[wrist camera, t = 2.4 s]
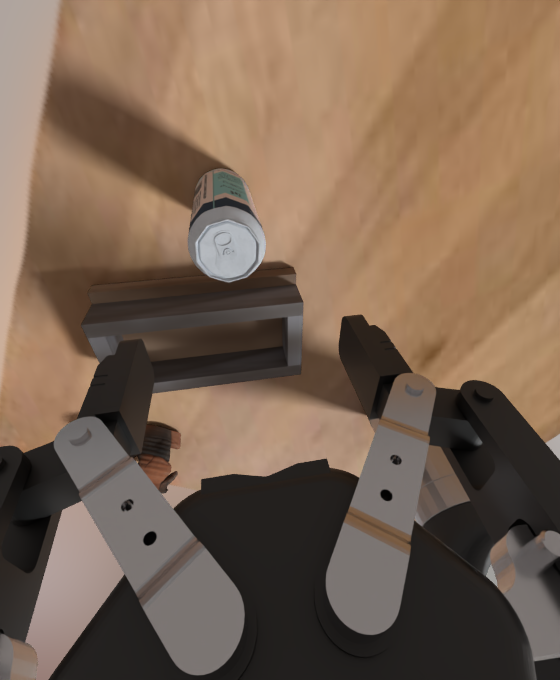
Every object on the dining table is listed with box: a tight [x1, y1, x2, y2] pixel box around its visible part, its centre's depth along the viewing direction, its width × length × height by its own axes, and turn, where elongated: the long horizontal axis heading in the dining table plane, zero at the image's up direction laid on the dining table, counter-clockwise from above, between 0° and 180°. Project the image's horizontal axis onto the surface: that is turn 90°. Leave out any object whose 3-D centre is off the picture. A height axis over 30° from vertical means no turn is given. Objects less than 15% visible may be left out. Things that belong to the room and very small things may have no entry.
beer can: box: [188, 168, 266, 282], centre depth 24 cm, size 5×5×12 cm
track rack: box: [81, 267, 303, 393], centre depth 35 cm, size 12×20×5 cm, turn 91°
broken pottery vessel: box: [130, 425, 181, 493], centre depth 45 cm, size 12×9×8 cm
